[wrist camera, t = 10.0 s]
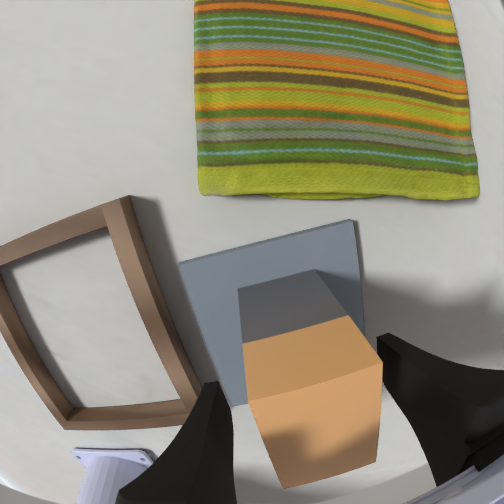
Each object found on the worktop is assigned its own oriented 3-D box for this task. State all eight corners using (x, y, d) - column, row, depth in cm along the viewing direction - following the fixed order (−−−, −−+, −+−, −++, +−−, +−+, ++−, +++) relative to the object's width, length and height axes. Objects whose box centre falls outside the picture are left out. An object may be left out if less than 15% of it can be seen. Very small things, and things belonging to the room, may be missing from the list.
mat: (363, 365, 18) (366, 370, 18) (231, 401, 18) (232, 406, 18) (349, 219, 15) (352, 221, 15) (179, 262, 15) (178, 265, 15)
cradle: (210, 405, 18) (209, 421, 17) (70, 417, 18) (64, 429, 17) (129, 195, 14) (119, 198, 13) (-17, 254, 14) (-30, 261, 13)
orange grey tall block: (327, 358, 17) (375, 461, 10) (262, 376, 17) (283, 489, 10) (313, 269, 15) (382, 362, 8) (237, 288, 15) (247, 401, 8)
